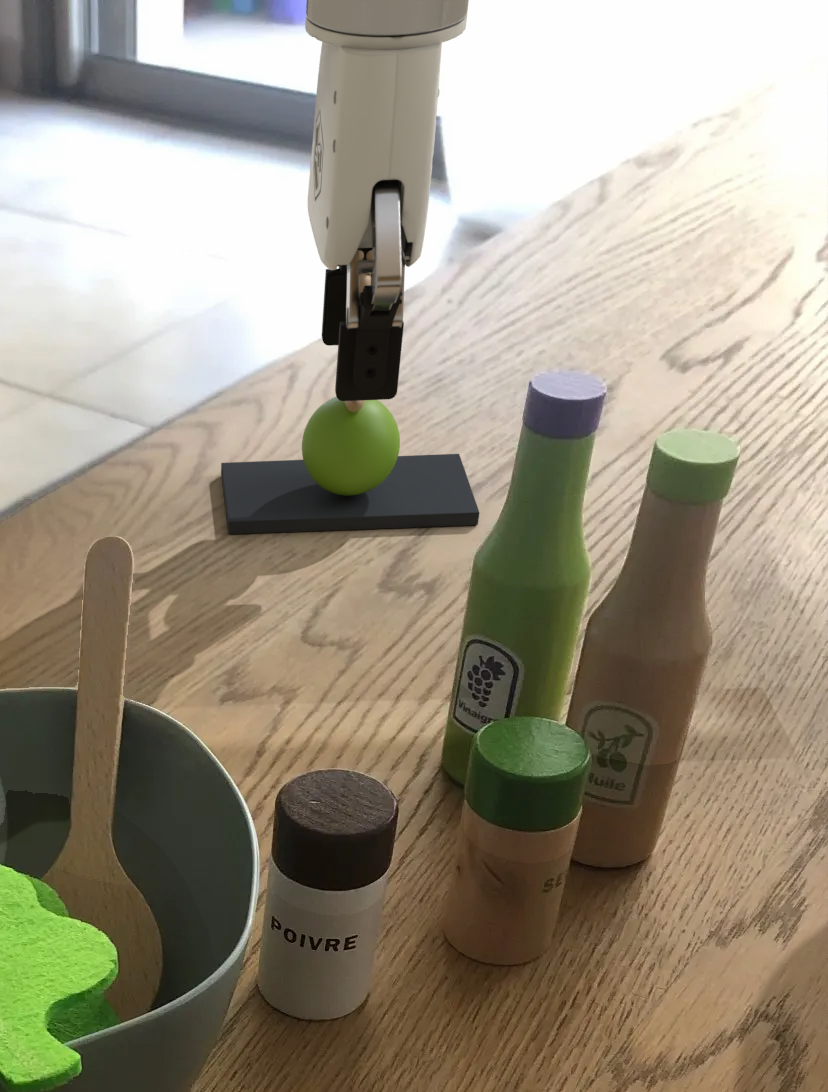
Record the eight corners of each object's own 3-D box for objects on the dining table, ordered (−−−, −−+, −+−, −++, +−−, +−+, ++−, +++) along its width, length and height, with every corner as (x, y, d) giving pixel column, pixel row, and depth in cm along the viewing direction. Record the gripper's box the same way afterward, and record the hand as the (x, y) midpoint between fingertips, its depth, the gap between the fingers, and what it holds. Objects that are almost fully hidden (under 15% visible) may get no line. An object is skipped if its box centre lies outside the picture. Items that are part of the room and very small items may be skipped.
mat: (457, 466, 96) (459, 453, 96) (477, 525, 91) (479, 512, 91) (220, 475, 97) (221, 462, 96) (228, 534, 92) (228, 521, 91)
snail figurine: (395, 459, 95) (417, 249, 87) (394, 515, 91) (417, 299, 82) (302, 457, 96) (314, 248, 87) (297, 512, 92) (309, 297, 83)
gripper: (290, -51, 82) (275, 308, 95) (326, 50, 70) (303, 446, 83) (440, -58, 82) (404, 302, 95) (502, 42, 70) (452, 440, 82)
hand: (357, 366), depth 89 cm, fingers closed on snail figurine, 6 cm apart
